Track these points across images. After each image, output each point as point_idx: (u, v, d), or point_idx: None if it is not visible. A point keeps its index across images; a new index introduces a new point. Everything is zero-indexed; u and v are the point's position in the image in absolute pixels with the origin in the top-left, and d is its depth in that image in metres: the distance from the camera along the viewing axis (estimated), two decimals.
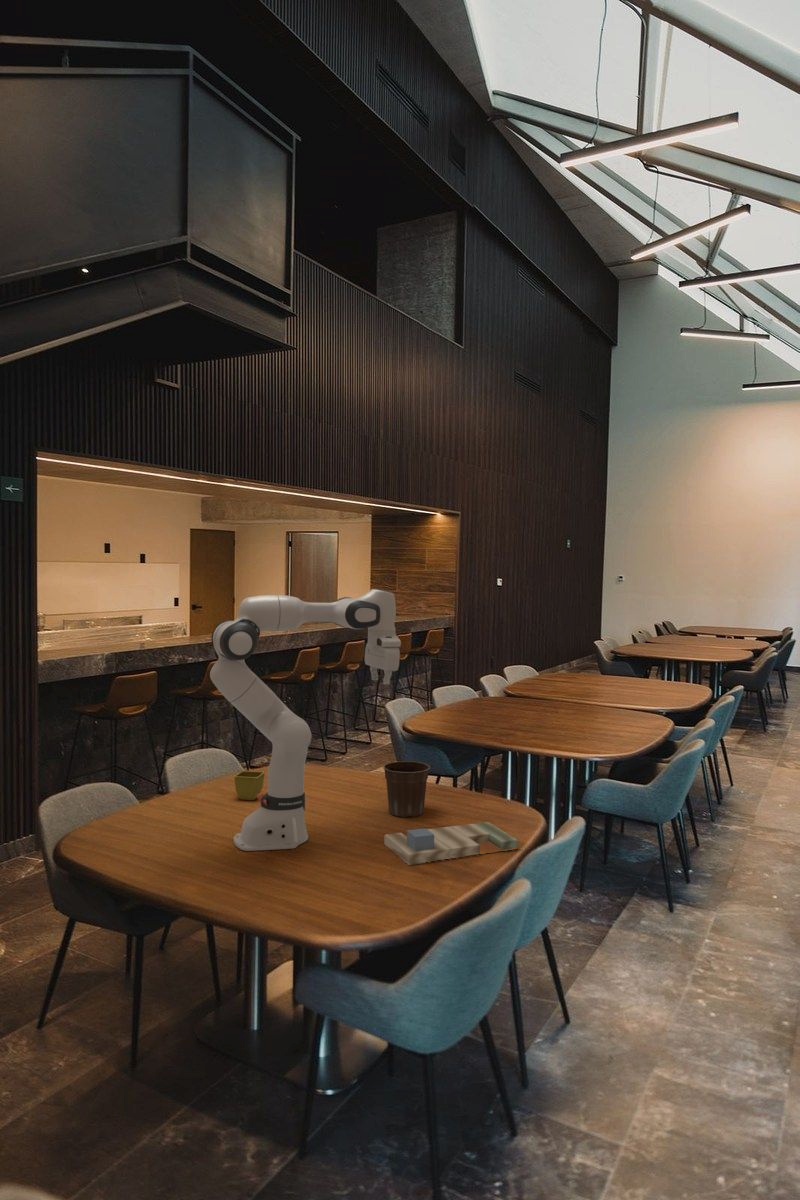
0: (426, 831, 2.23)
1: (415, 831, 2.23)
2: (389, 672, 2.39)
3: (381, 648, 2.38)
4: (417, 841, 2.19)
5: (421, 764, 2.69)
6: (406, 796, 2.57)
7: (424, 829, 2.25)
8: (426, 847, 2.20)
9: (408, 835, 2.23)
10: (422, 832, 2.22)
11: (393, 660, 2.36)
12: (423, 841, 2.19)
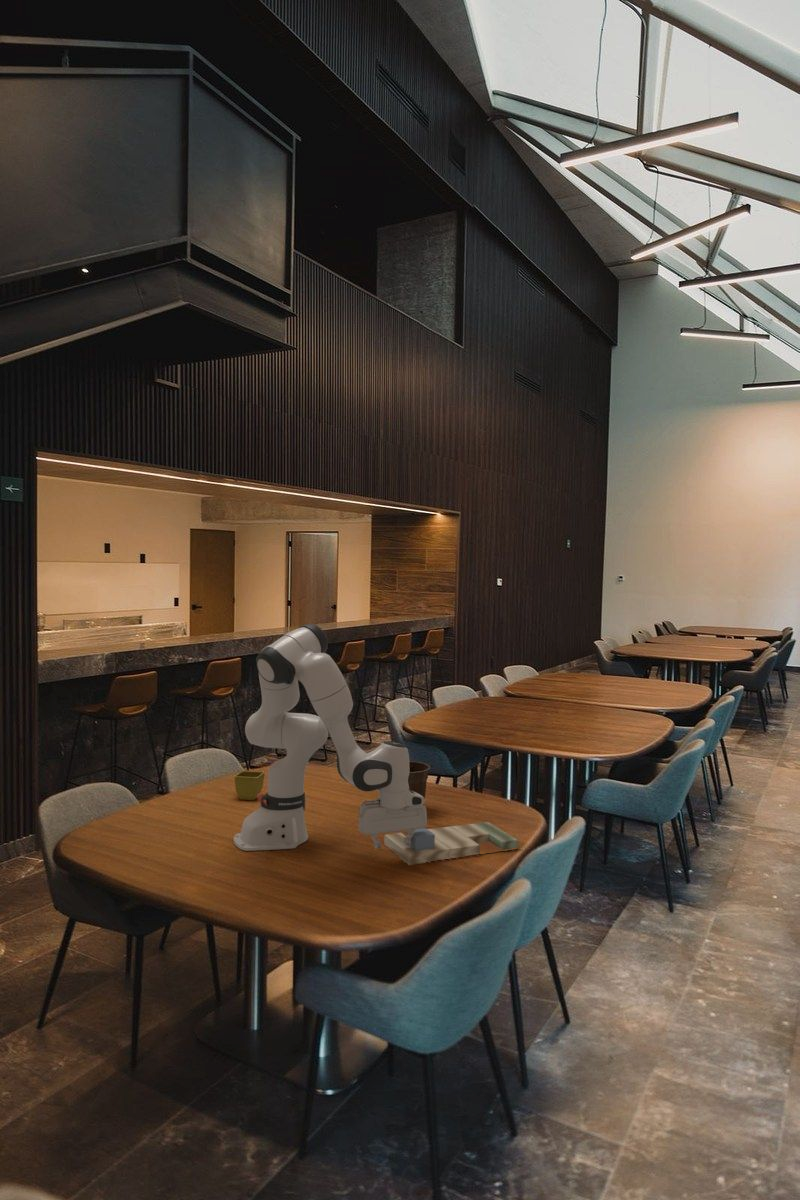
0: (426, 831, 2.23)
1: (415, 831, 2.23)
2: None
3: (417, 806, 2.18)
4: (417, 841, 2.19)
5: (421, 764, 2.69)
6: None
7: (424, 829, 2.25)
8: (426, 847, 2.20)
9: None
10: (423, 832, 2.22)
11: None
12: (423, 841, 2.19)
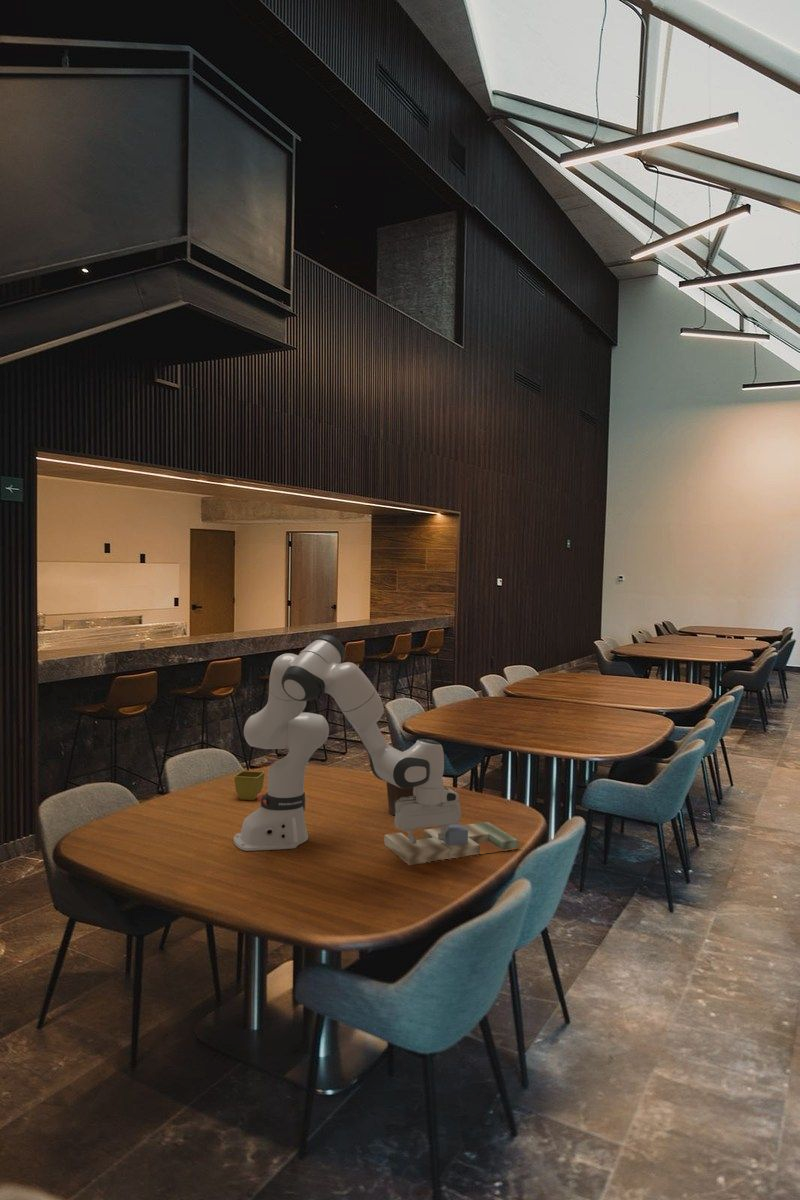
0: (460, 827, 2.28)
1: (449, 827, 2.28)
2: None
3: (451, 802, 2.23)
4: (451, 837, 2.23)
5: None
6: (406, 796, 2.57)
7: (457, 825, 2.29)
8: (460, 842, 2.24)
9: None
10: (456, 828, 2.27)
11: None
12: (457, 837, 2.24)
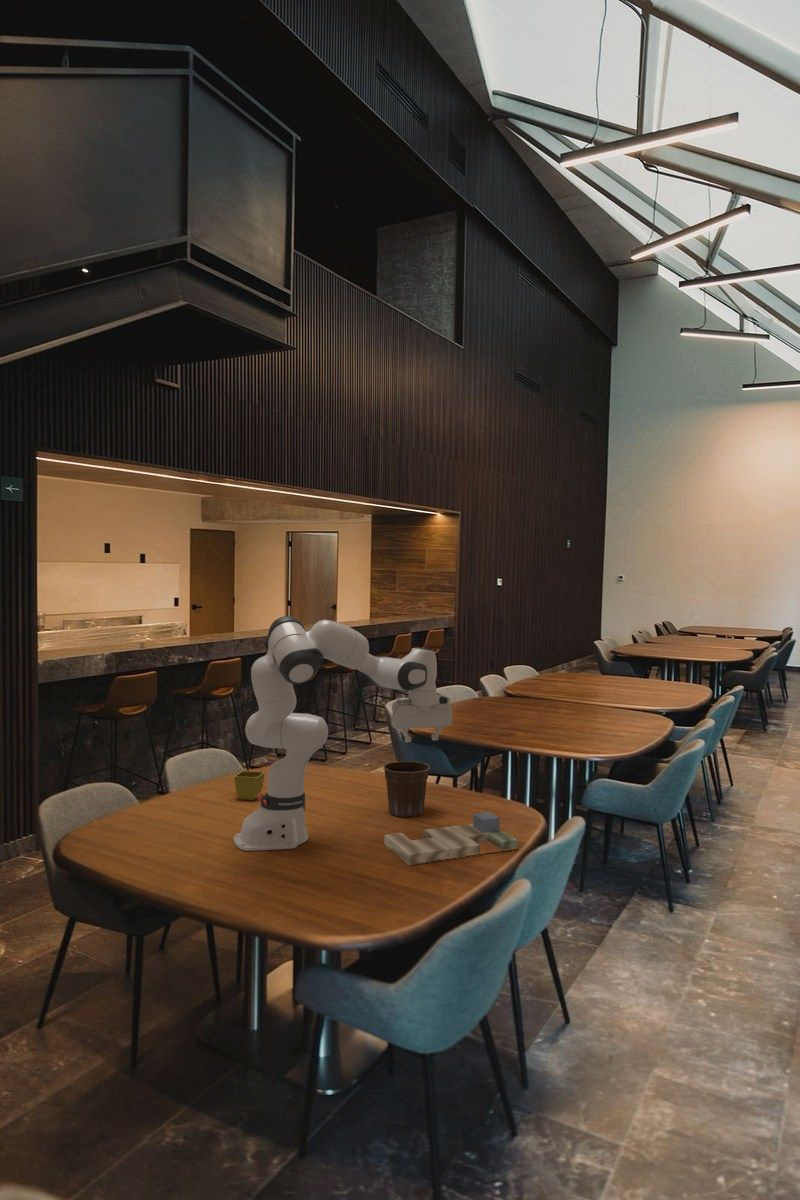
0: (491, 815, 2.40)
1: (481, 815, 2.40)
2: None
3: (444, 705, 2.43)
4: (484, 824, 2.35)
5: (421, 764, 2.69)
6: (406, 796, 2.57)
7: (489, 813, 2.42)
8: (492, 829, 2.37)
9: (475, 818, 2.40)
10: (488, 816, 2.39)
11: None
12: (489, 824, 2.36)
